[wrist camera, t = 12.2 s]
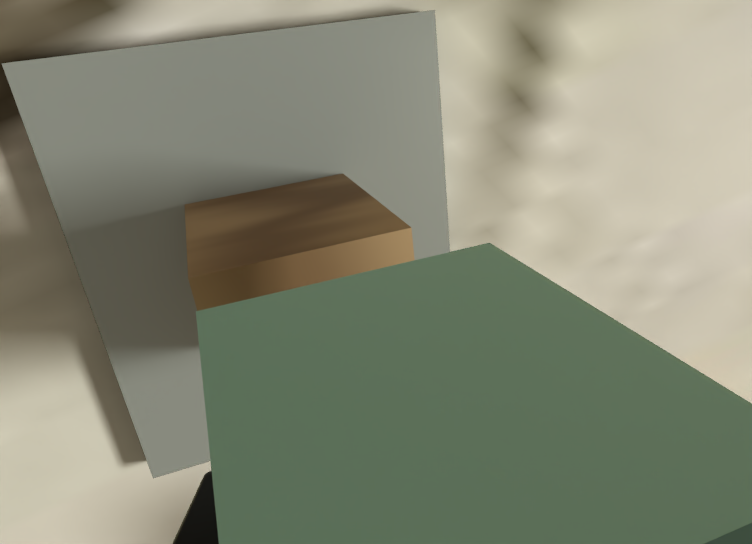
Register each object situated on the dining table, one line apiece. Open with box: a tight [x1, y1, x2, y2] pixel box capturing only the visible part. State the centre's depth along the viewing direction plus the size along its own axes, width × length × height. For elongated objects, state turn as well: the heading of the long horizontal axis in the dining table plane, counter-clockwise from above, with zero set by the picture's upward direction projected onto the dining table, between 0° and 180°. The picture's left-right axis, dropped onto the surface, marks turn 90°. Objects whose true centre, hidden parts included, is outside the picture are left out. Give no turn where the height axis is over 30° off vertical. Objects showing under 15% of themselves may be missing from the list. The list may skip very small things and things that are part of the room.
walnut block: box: [185, 174, 414, 311], centre depth 16 cm, size 5×5×6 cm
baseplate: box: [2, 10, 450, 478], centre depth 19 cm, size 12×14×1 cm
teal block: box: [196, 243, 752, 544], centre depth 7 cm, size 5×5×6 cm
